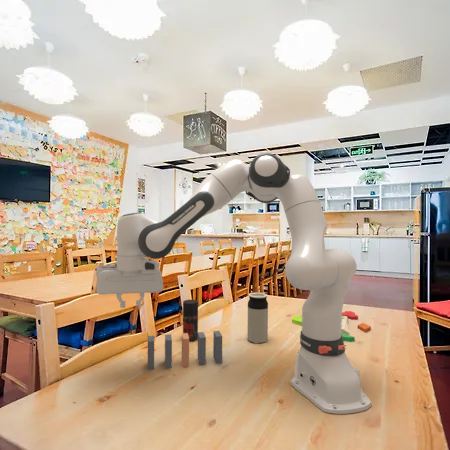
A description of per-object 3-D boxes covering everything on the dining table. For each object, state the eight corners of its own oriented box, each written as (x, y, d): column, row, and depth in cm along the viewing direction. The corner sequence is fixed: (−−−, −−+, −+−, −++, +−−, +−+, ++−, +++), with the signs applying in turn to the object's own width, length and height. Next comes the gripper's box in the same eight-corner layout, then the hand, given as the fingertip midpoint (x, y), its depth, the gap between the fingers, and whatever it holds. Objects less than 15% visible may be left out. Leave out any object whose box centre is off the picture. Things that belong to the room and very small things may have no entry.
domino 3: (187, 359, 105) (187, 333, 105) (189, 366, 100) (189, 338, 100) (181, 359, 105) (181, 333, 105) (182, 366, 100) (183, 339, 100)
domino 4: (203, 357, 106) (203, 331, 106) (205, 364, 101) (205, 337, 101) (197, 358, 106) (197, 332, 106) (199, 365, 101) (199, 337, 101)
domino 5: (218, 356, 108) (219, 330, 107) (222, 363, 103) (222, 336, 102) (213, 356, 107) (213, 331, 107) (216, 363, 102) (216, 336, 102)
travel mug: (266, 344, 118) (267, 297, 118) (246, 342, 120) (246, 296, 119) (268, 336, 126) (268, 292, 125) (248, 335, 127) (249, 291, 127)
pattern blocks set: (383, 345, 119) (383, 337, 119) (294, 339, 125) (294, 331, 125) (357, 315, 157) (357, 309, 157) (290, 311, 162) (290, 305, 162)
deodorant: (180, 337, 124) (181, 300, 124) (194, 335, 127) (194, 298, 126) (185, 343, 119) (186, 304, 119) (200, 340, 122) (200, 302, 121)
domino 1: (154, 362, 103) (154, 335, 102) (154, 369, 98) (154, 341, 98) (147, 363, 102) (148, 336, 102) (147, 370, 97) (147, 341, 97)
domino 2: (170, 360, 104) (171, 334, 104) (171, 367, 99) (171, 340, 99) (164, 361, 103) (165, 334, 103) (165, 368, 99) (165, 340, 98)
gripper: (94, 265, 93) (94, 311, 93) (163, 264, 97) (163, 308, 98) (98, 262, 99) (97, 305, 100) (163, 261, 104) (162, 302, 104)
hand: (130, 306), depth 99 cm, fingers open, 3 cm apart
